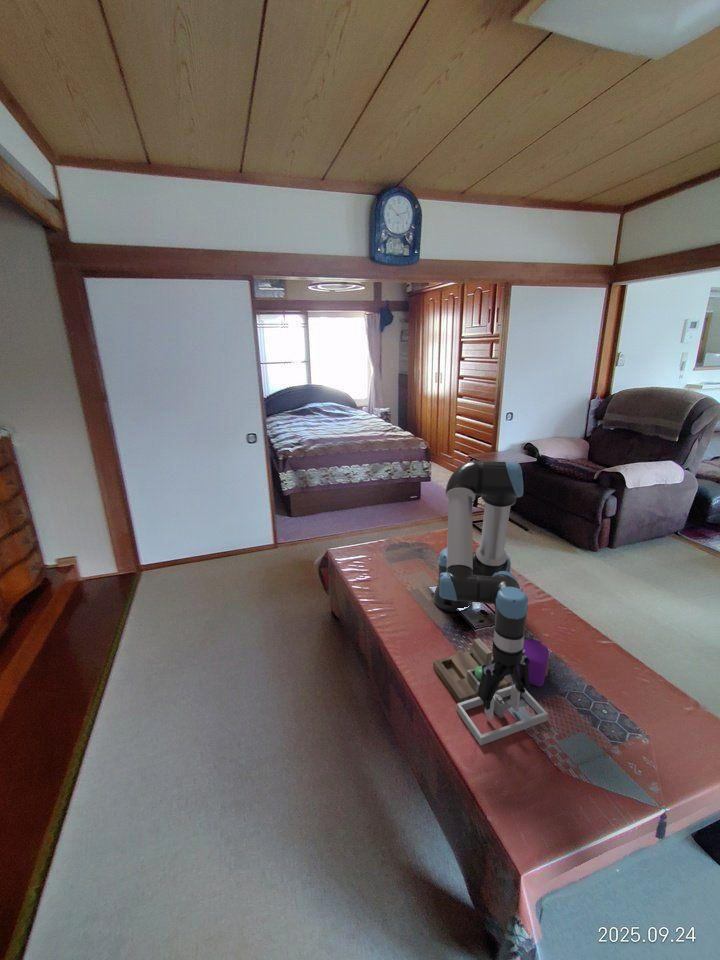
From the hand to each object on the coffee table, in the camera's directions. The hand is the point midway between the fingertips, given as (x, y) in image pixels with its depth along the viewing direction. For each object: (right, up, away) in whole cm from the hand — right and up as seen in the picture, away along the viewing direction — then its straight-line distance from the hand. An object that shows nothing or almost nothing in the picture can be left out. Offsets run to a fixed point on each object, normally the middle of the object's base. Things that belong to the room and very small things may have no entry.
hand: (501, 711), depth 114 cm
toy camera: (+15, +4, +16) cm, 22 cm away
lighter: (0, -2, +1) cm, 2 cm away
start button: (-3, +5, +8) cm, 10 cm away
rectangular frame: (0, -1, 0) cm, 2 cm away
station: (-5, +3, +14) cm, 15 cm away
